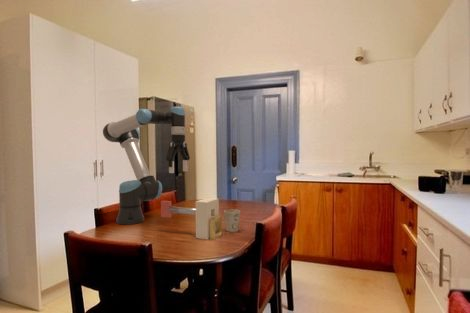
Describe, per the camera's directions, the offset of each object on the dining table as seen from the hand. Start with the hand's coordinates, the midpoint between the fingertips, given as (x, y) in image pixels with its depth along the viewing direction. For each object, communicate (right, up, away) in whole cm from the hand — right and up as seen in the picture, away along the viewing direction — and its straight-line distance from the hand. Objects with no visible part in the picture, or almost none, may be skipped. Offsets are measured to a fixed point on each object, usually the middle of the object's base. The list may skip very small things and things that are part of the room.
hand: (178, 172), depth 166 cm
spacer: (+23, -29, -27) cm, 46 cm away
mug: (+30, -29, -14) cm, 44 cm away
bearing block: (+19, -29, -25) cm, 43 cm away
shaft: (+7, -22, -20) cm, 30 cm away
